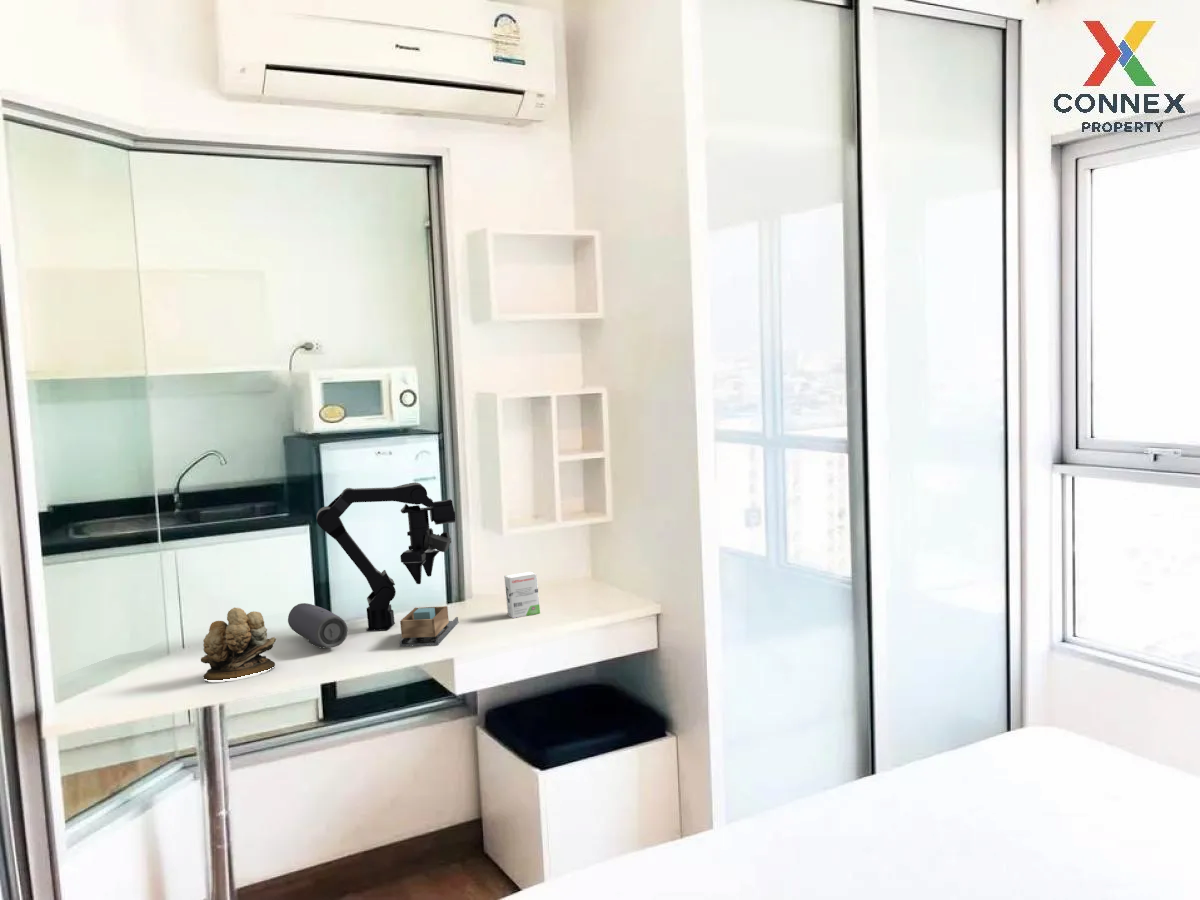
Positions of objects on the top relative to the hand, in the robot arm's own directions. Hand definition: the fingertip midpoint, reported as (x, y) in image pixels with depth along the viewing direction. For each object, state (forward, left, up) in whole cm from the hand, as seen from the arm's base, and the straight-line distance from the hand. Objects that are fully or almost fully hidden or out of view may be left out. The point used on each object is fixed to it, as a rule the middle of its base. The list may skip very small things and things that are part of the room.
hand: (424, 580), depth 278 cm
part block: (+5, -17, -9) cm, 20 cm away
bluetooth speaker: (-25, -18, -12) cm, 33 cm away
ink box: (+28, +3, -12) cm, 30 cm away
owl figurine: (-36, -41, -12) cm, 56 cm away
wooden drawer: (+5, -17, -12) cm, 22 cm away
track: (+5, -14, -12) cm, 19 cm away
